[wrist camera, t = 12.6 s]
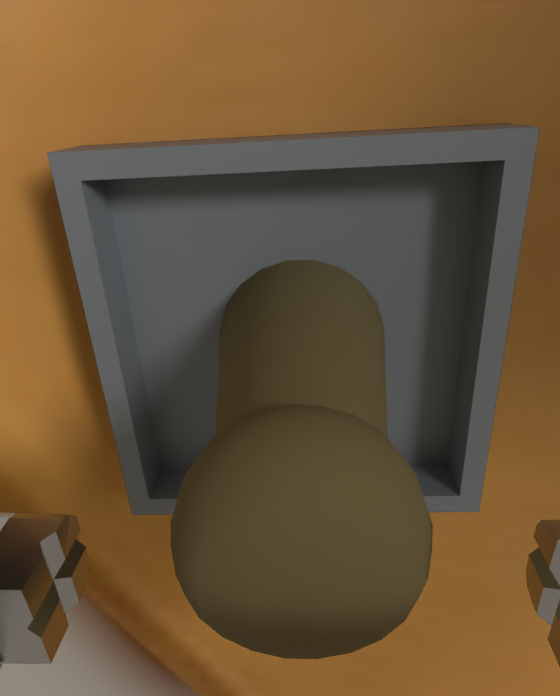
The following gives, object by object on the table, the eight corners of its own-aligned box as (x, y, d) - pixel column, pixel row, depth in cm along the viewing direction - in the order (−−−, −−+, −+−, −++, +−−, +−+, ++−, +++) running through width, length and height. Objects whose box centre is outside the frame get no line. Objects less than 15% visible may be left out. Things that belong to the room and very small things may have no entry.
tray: (81, 146, 17) (47, 152, 14) (506, 123, 16) (539, 126, 14) (149, 473, 23) (132, 514, 20) (460, 469, 22) (478, 511, 19)
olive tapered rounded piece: (401, 271, 17) (530, 495, 8) (366, 417, 20) (427, 724, 10) (227, 247, 17) (124, 443, 7) (214, 397, 20) (127, 689, 10)
